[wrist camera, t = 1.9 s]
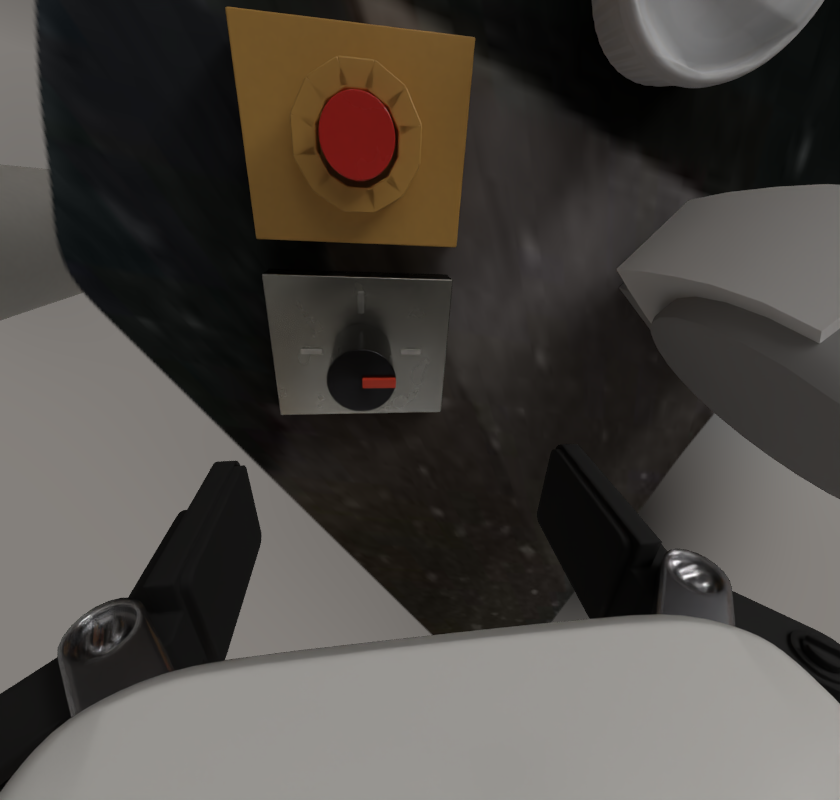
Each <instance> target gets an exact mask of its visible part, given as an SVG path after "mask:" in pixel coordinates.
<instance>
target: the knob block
mask: <svg viewBox="0 0 840 800" xmlns="http://www.w3.org/2000/svg"><path fill="white" fill-rule="evenodd" d="M225 9H226V17H227V24H228V32H229V39H230V46H231V54H232V61H233V69H234V76H235V84H236V91H237V98H238V106H239V113H240V121H241V128H242V136H243V143H244V150H245V158H246V165H247V173H248V180H249V188H250V195H251V202H252V210H253V217H254V225H255V232H256V238H257V239H272V240H295V241H318V242H341V243H364V244H387V245H411V246H434V247H456V245H457V234H458V223H459V212H460V201H461V190H462V178H463V167H464V156H465V145H466V134H467V123H468V112H469V101H470V90H471V79H472V68H473V57H474V46H475V38H474V37H469V36H461V35H452V34H444V33H436V32H428V31H420V30H412V29H404V28H396V27H388V26H379V25H371V24H363V23H355V22H347V21H339V20H331V19H323V18H315V17H307V16H298V15H290V14H282V13H274V12H266V11H258V10H250V9H242V8H234V7H226V8H225ZM348 89H358V90H363V91H366V92H368V93H370V94H372V95H373V96H375V97H376V98H377V99H378V100H379V101H380V102H381V103H382V104H383V105H384V106H385V108H386V109H387V111H388V113H389V115H390V117H391V119H392V122H393V126H394V131H395V148H394V152H393V156H392V158H391V160H390V162H389V164H388V166H387V167H386V168H385V170H384V171H383V172H382V173H381V174H380V175H379V176H377V177H376V178H374V179H372V180H369V181H365V182H356V181H352V180H349V179H346V178H344V177H343V176H341V175H340V174H339V173H337V172H336V171H335V170H334V169H333V167H332V166H331V165H330V164H329V163H328V161H327V160H326V158H325V156H324V154H323V152H322V149H321V146H320V142H319V134H318V127H319V120H320V116H321V113H322V110H323V109H324V107H325V105H326V104H327V102H328V101H329V100H330V99H331V98H332V97H333V96H334V95H336V94H337V93H339V92H341V91H344V90H348Z"/></svg>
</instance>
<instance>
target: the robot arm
mask: <svg viewBox="0 0 840 800" xmlns="http://www.w3.org/2000/svg"><path fill="white" fill-rule="evenodd" d="M537 518H538V522H539V524H540V526H541V528H542V530H543V532H544V534H545V536H546V538H547V540H548V541H549V543H550V545H551V547H552V549H553V551H554V553H555V555H556V556H557V558H558V560H559V562H560V564H561V566H562V568H563V570H564V572H565V573H566V575H567V577H568V579H569V581H570V583H571V585H572V587H573V589H574V590H575V592H576V594H577V596H578V598H579V600H580V602H581V604H582V605H583V607H584V609H585V611H586V613H587V615H588V616H589V618H590V619H583V620H572V621H563V622H553V623H543V624H534V625H524V626H514V627H505V628H495V629H486V630H477V631H468V632H458V633H449V634H440V635H431V636H423V637H413V638H404V639H396V640H386V641H378V642H368V643H360V644H351V645H342V646H334V647H325V648H316V649H308V650H299V651H291V652H283V653H275V654H268V655H260V656H253V657H246V658H238V659H230V660H225V658H226V655H227V652H228V649H229V645H230V642H231V639H232V636H233V632H234V629H235V626H236V623H237V619H238V616H239V612H240V609H241V606H242V603H243V600H244V596H245V593H246V590H247V587H248V583H249V580H250V577H251V574H252V570H253V567H254V564H255V561H256V557H257V554H258V551H259V548H260V543H261V530H260V526H259V521H258V517H257V512H256V508H255V503H254V499H253V495H252V490H251V486H250V482H249V478H248V473H247V469H246V467H245V466H240V464H239V463H238V461H223V462H215V463H214V464H213V466H212V468H211V469H210V471H209V473H208V475H207V477H206V478H205V480H204V482H203V484H202V485H201V487H200V489H199V490H198V492H197V494H196V496H195V497H194V499H193V501H192V503H191V504H190V506H189V508H188V509H187V510H183V511H181V512H180V513H179V514H178V516H177V517H176V519H175V520H174V522H173V523H172V525H171V527H170V529H169V530H168V532H167V534H166V535H165V537H164V539H163V540H162V542H161V544H160V545H159V547H158V549H157V550H156V552H155V554H154V555H153V557H152V559H151V560H150V562H149V564H148V565H147V567H146V569H145V570H144V572H143V574H142V575H141V577H140V579H139V580H138V582H137V584H136V585H135V587H134V589H133V590H132V592H131V594H130V595H129V597H128V598H119V599H115V600H111V601H108V602H106V603H103V604H101V605H99V606H97V607H95V608H93V609H92V610H90V611H89V612H87V613H86V614H84V615H83V616H82V617H80V618H79V619H78V620H77V621H76V622H75V623H74V624H73V625H72V626H71V627H70V628H69V629H68V631H67V632H66V634H65V635H64V636H63V637H62V640H61V642H60V644H59V647H58V657H57V658H56V659H54V660H52V661H51V662H49V663H48V664H46V665H45V666H43V667H42V668H40V669H38V670H37V671H35V672H34V673H32V674H31V675H29V676H28V677H26V678H24V679H23V680H21V681H20V682H18V683H17V684H15V685H14V686H12V687H10V688H9V689H8V690H6V691H4V692H3V693H1V694H0V800H840V644H839V643H837V642H836V641H834V640H833V639H831V638H830V637H828V636H826V635H824V634H823V633H821V632H819V631H817V630H815V629H813V628H811V627H808V626H806V625H804V624H802V623H800V622H798V621H796V620H793V619H791V618H789V617H787V616H785V615H783V614H781V613H778V612H776V611H774V610H772V609H770V608H768V607H766V606H763V605H761V604H759V603H757V602H755V601H753V600H751V599H748V598H746V597H744V596H742V595H740V594H738V593H736V592H733V591H732V586H731V583H730V580H729V579H728V577H727V576H726V574H725V573H724V571H722V570H721V569H720V568H719V567H718V566H717V565H716V564H715V563H713V562H712V561H710V560H709V559H708V558H706V557H704V556H702V555H700V554H698V553H695V552H692V551H689V550H684V549H673V550H669V551H667V550H666V549H665V548H664V547H663V546H662V544H661V543H662V541H661V540H660V539H659V538H658V537H657V536H656V535H655V533H654V532H653V531H652V530H651V529H650V528H649V526H648V525H647V524H646V523H645V522H644V521H643V519H642V518H641V517H640V516H639V515H638V514H637V512H636V511H635V510H634V509H633V508H632V507H631V505H630V504H629V503H628V502H627V501H626V500H625V498H624V497H623V496H622V495H621V494H620V493H619V492H618V490H617V489H616V488H615V487H614V486H613V485H612V483H611V482H610V481H609V480H608V479H607V478H606V476H605V475H604V474H603V473H602V472H601V471H600V469H599V468H598V467H597V466H596V465H595V464H594V462H593V461H592V460H591V459H590V458H589V457H588V455H587V454H586V453H585V452H584V451H583V450H582V448H581V447H580V446H579V445H577V444H563V445H558V446H557V447H556V449H554V450H552V451H551V454H550V459H549V463H548V467H547V472H546V476H545V480H544V485H543V489H542V494H541V498H540V502H539V507H538V511H537Z"/></svg>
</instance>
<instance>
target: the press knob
mask: <svg viewBox="0 0 840 800" xmlns="http://www.w3.org/2000/svg"><path fill="white" fill-rule="evenodd" d="M318 134H319V142H320V146H321V149H322V152H323V154H324V156H325V158H326V160H327V161H328V163H329V164H330V165H331V166H332V167H333V169H334V170H335V171H336V172H337V173H339V174H340V175H341V176H343V177H344V178H346V179H349V180H352V181H356V182H365V181H369V180H372V179H374V178H376V177H377V176H379V175H380V174H381V173H382V172H383V171H384V170H385V168H386V167H387V166H388V164H389V162H390V160H391V158H392V156H393V152H394V148H395V131H394V126H393V122H392V119H391V117H390V115H389V113H388V111H387V109H386V108H385V106H384V105H383V104H382V103H381V102H380V101H379V100H378V99H377V98H376V97H375V96H373V95H372V94H370V93H368V92H366V91H363V90H358V89H348V90H344V91H341V92H339V93H337V94H336V95H334V96H333V97H332V98H331V99H330V100H329V101H328V102H327V104H326V105H325V107H324V109H323V110H322V113H321V116H320V120H319V127H318Z"/></svg>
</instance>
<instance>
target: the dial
mask: <svg viewBox="0 0 840 800" xmlns="http://www.w3.org/2000/svg"><path fill="white" fill-rule="evenodd" d="M327 387H328V390H329V392H330V394H331V396H332V397H333V399H334V400H335V401H336V402H337V403H338V404H340V405H341V406H343V407H345V408H347V409H349V410H353V411H370V410H374V409H376V408H378V407H380V406H382V405H383V404H385V403H386V402H387V401H388V400H389V399H390V397H391V396H392V394H393V392H394V390H395V388H396V375H395V369H394V364H393V358H392V353H391V348H390V344H389V341H388V339H387V337H386V336H385V335H384V333H383V332H382V331H380V330H379V329H378V328H376V327H374V326H371V325H368V324H354V325H351V326H348V327H346V328H345V329H343V330H342V331H341V332H340V333H339V334H338V335H337V337H336V338H335V341H334V343H333V348H332V352H331V357H330V362H329V367H328V372H327Z"/></svg>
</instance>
